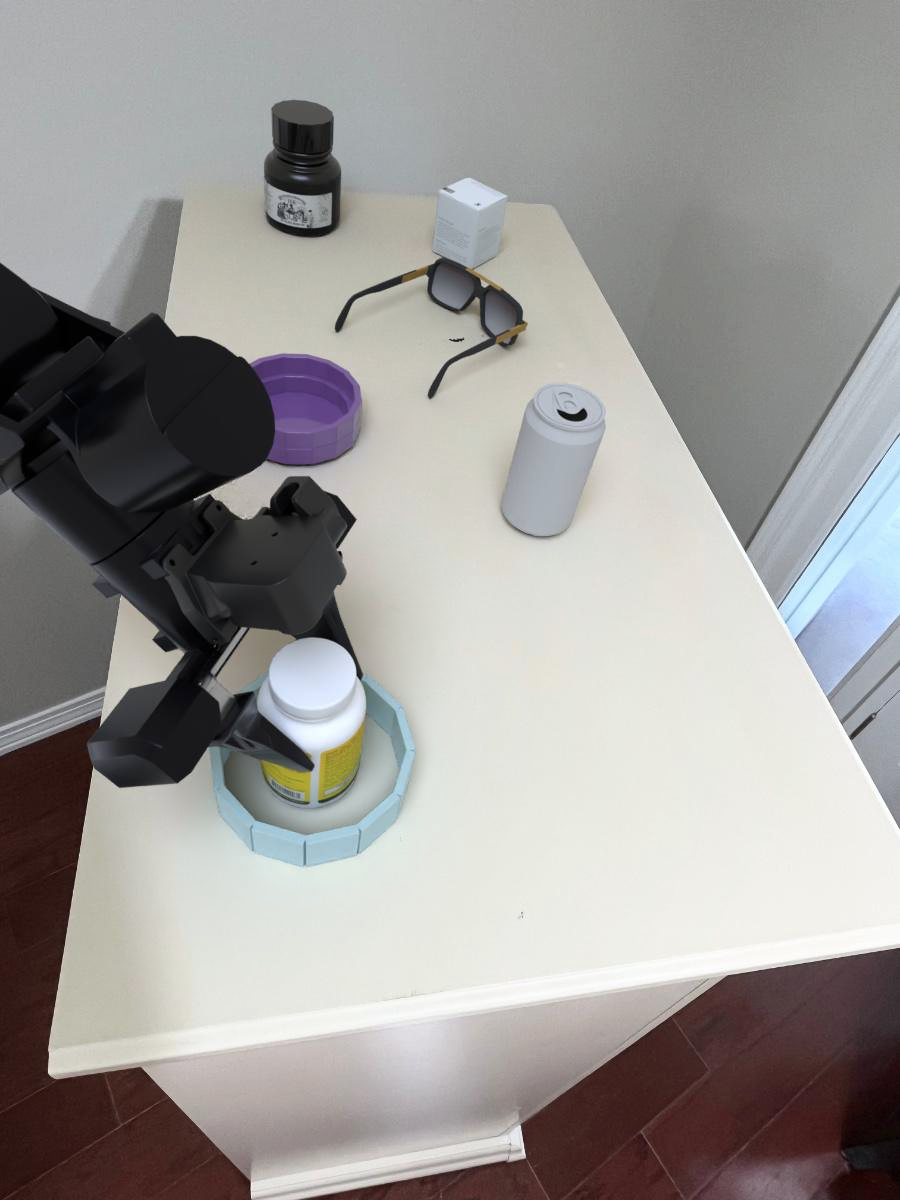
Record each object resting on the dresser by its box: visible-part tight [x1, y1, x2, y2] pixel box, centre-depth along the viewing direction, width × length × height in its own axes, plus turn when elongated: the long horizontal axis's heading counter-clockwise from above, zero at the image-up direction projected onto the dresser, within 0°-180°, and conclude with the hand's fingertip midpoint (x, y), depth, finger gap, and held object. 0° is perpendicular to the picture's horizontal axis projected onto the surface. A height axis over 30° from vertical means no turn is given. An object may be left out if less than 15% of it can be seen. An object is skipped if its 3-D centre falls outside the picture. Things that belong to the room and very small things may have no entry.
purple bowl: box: [249, 352, 363, 466], centre depth 71 cm, size 11×11×4 cm
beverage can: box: [500, 382, 607, 537], centre depth 65 cm, size 6×6×12 cm
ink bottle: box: [263, 99, 342, 237], centre depth 92 cm, size 10×9×12 cm
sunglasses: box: [334, 257, 529, 400], centre depth 82 cm, size 14×15×5 cm
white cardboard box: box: [431, 177, 509, 270], centre depth 94 cm, size 6×6×7 cm
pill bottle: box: [257, 638, 367, 809], centre depth 47 cm, size 6×6×11 cm
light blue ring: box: [208, 671, 416, 868], centre depth 50 cm, size 12×12×4 cm
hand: (333, 723), depth 46 cm, fingers closed on pill bottle, 6 cm apart
